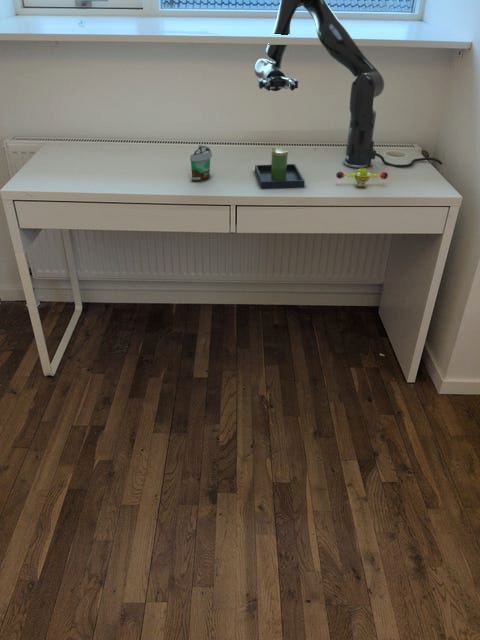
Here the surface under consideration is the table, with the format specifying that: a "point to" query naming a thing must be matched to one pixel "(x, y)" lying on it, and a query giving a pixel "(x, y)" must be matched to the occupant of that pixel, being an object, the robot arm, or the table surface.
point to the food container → (200, 164)
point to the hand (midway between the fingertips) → (281, 87)
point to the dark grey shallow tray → (291, 181)
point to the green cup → (279, 164)
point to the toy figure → (362, 176)
